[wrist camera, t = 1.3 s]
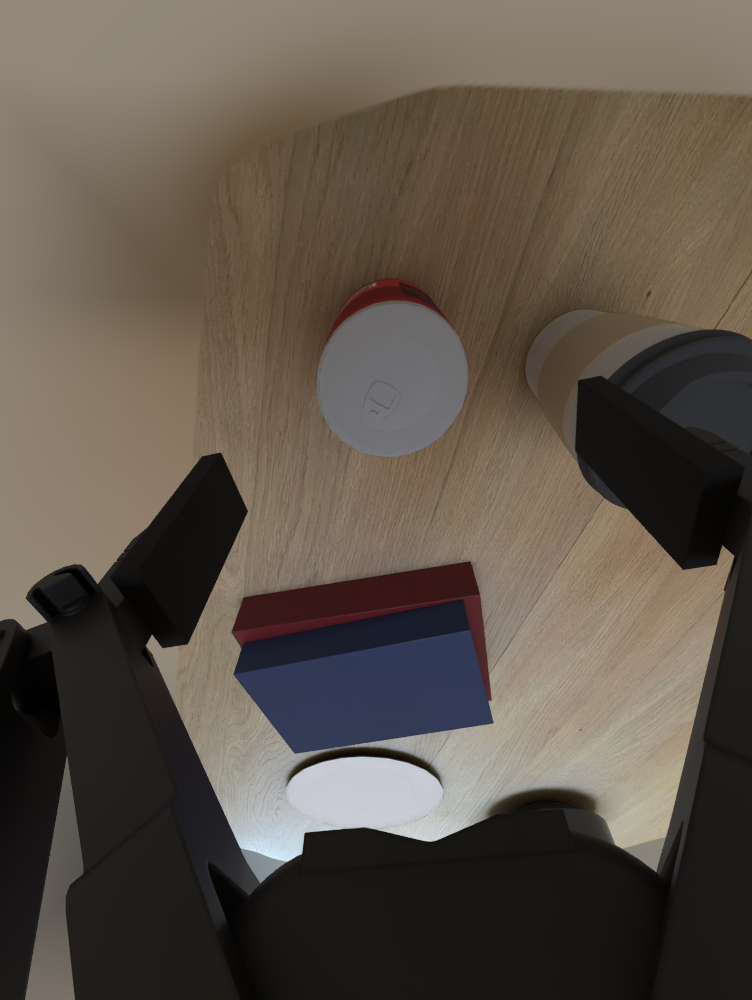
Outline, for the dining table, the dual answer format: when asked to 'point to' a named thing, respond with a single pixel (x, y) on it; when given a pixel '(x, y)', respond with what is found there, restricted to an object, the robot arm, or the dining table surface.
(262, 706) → the book stack
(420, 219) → the dining table surface
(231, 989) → the robot arm
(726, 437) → the coffee cup
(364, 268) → the dining table surface
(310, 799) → the plate
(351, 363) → the canned food
